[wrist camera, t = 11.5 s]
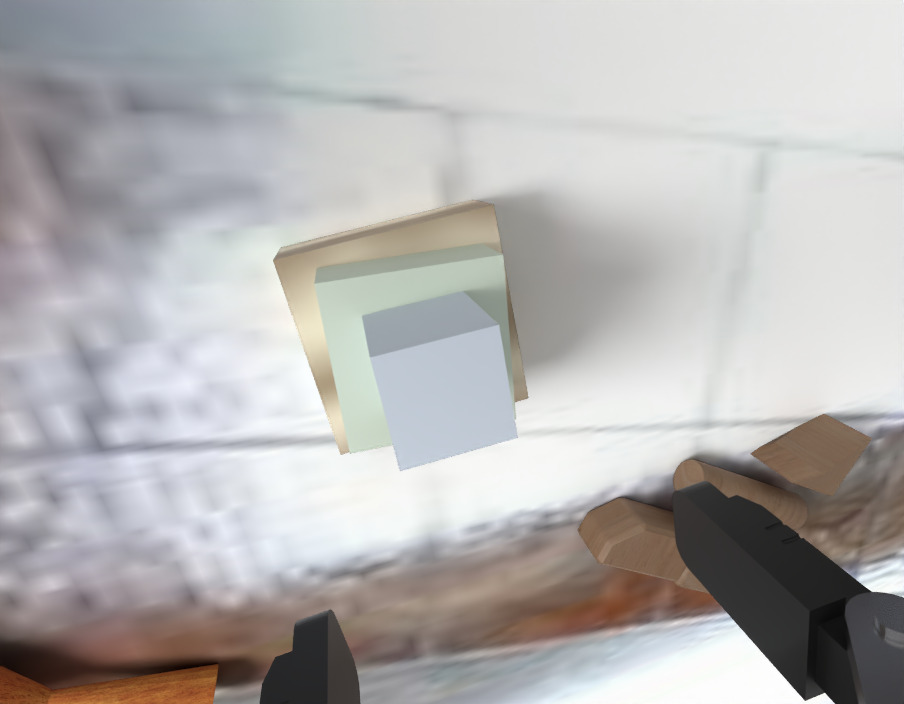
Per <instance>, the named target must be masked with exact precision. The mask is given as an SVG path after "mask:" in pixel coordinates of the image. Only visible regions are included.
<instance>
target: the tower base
mask: <svg viewBox="0 0 904 704" xmlns="http://www.w3.org/2000/svg"><path fill="white" fill-rule="evenodd" d="M480 243H482V244H484V245H486V246H488V247H490V248H492V249H494V250H496V251H497V252H499V253H501V254H502V248H501V242H500V237H499V231H498V226H497V220H496V215H495V209H494V205H492V204H488V203H484V202H480V201H476V200H470V201H466V202H462V203H458V204H454V205H450V206H446V207H442V208H438V209H434V210H430V211H426V212H422V213H418V214H414V215H410V216H405V217H401V218H397V219H393V220H389V221H385V222H381V223H377V224H373V225H369V226H365V227H361V228H357V229H353V230H349V231H345V232H341V233H337V234H333V235H329V236H325V237H321V238H317V239H313V240H309V241H305V242H301V243H297V244H293V245H289V246H285V247H281V248H280V250H279V252H278V253H277V255H276V257H275V258H274V260H273V262H274V264H275V267H276V270H277V273H278V276H279V279H280V282H281V285H282V287H283V290H284V293H285V296H286V299H287V302H288V305H289V308H290V310H291V313H292V316H293V319H294V322H295V325H296V328H297V331H298V333H299V336H300V339H301V342H302V345H303V348H304V351H305V354H306V356H307V359H308V362H309V365H310V368H311V371H312V374H313V377H314V379H315V382H316V385H317V388H318V391H319V394H320V397H321V400H322V402H323V405H324V408H325V411H326V414H327V417H328V420H329V423H330V425H331V428H332V431H333V434H334V437H335V440H336V443H337V446H338V449H339V451H340V454H345V453H348V452H349V447H348V442H347V438H346V433H345V428H344V423H343V419H342V414H341V409H340V404H339V400H338V395H337V390H336V385H335V381H334V376H333V371H332V366H331V361H330V357H329V352H328V347H327V342H326V338H325V333H324V328H323V323H322V319H321V314H320V309H319V304H318V299H317V295H316V290H315V285H314V282H315V275H316V269H317V268H319V267H326V266H333V265H339V264H346V263H353V262H359V261H366V260H373V259H379V258H386V257H393V256H399V255H406V254H413V253H420V252H426V251H433V250H440V249H446V248H453V247H460V246H466V245H473V244H480ZM504 268H505V265H504ZM505 282H506V295H507V308H508V321H509V334H510V347H511V360H512V373H513V386H514V400H515V402H517V401H520V400H524V399H527V398H528V393H527V387H526V381H525V376H524V370H523V365H522V359H521V354H520V348H519V343H518V337H517V331H516V326H515V320H514V315H513V309H512V304H511V298H510V292H509V287H508V281H507V276H506V270H505Z"/></svg>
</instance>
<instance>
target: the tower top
mask: <svg viewBox="0 0 904 704" xmlns="http://www.w3.org/2000/svg"><path fill="white" fill-rule="evenodd" d="M314 285H315V290H316V295H317V299H318V304H319V309H320V314H321V319H322V323H323V328H324V333H325V338H326V342H327V347H328V352H329V357H330V361H331V366H332V371H333V376H334V381H335V385H336V390H337V395H338V400H339V404H340V409H341V414H342V419H343V423H344V428H345V433H346V438H347V442H348V447H349V452H350V454H351V453H356V452H361V451H366V450H371V449H376V448H380V447H385V446H390V445H393V443H392V439H391V435H390V432H389V428H388V424H387V420H386V417H385V413H384V409H383V405H382V402H381V398H380V394H379V390H378V387H377V383H376V379H375V375H374V372H373V368H372V364H371V361H370V356H369V351H368V346H367V341H366V336H365V330H364V325H363V320H362V315H366V314H370V313H375V312H379V311H383V310H387V309H391V308H395V307H399V306H403V305H408V304H412V303H416V302H420V301H424V300H428V299H432V298H436V297H441V296H445V295H449V294H453V293H457V292H461V291H464V292H465V293H466V294H467V295H468V296H469V297H470V298H471V299H472V300H473V301H474V302H475V303H476V304H477V305H478V306H480V307H481V308H482V309H483V310H484V311H485V312H486V313H487V314H488V315H489V316H490V317H491V318H492V319H493V320H494V321H496V322H497V323H498V324H499V327H500V333H501V339H502V345H503V351H504V358H505V364H506V370H507V376H508V382H509V388H510V394H511V400H512V406H513V412H514V418H515V419H516V413H515V400H514V386H513V373H512V360H511V347H510V334H509V321H508V308H507V295H506V282H505V268H504V255H503V254H501V253H499V252H497V251H496V250H494V249H492V248H490V247H488V246H486V245H484V244H482V243H480V244H473V245H466V246H460V247H453V248H446V249H440V250H433V251H426V252H420V253H413V254H406V255H399V256H393V257H386V258H379V259H373V260H366V261H359V262H353V263H346V264H339V265H333V266H326V267H319V268H317V269H316V275H315V282H314Z"/></svg>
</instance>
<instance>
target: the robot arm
mask: <svg viewBox="0 0 904 704" xmlns="http://www.w3.org/2000/svg"><path fill="white" fill-rule="evenodd" d="M672 502H673V514H674V527H675V540H676V545H677V549H678V551H679V554H680V556H681V558H682V560H683V562H684V563H685V565H686V566H687V568H688V569H689V570H690V571H691V572H692V574H693V575H694V576H695V577H696V578H697V579H698V580H699V581H700V583H701V584H702V585H703V586H704V587H705V588H706V589H707V590H708V592H709V593H710V594H711V595H712V596H713V597H714V598H715V600H716V601H717V602H718V603H719V604H720V605H721V606H722V607H723V609H724V610H725V611H726V612H727V613H728V614H729V615H730V617H731V618H732V619H733V620H734V621H735V622H736V623H737V624H738V626H739V627H740V628H741V629H742V630H743V631H744V632H745V633H746V635H747V636H748V637H749V638H750V639H751V640H752V641H753V643H754V644H755V645H756V646H757V647H758V648H759V649H760V650H761V652H762V653H763V654H764V655H765V656H766V657H767V658H768V659H769V661H770V662H771V663H772V664H773V665H774V666H775V667H776V669H777V670H778V671H779V672H780V673H781V674H782V675H783V676H784V678H785V679H786V680H787V681H788V682H789V683H790V684H791V685H792V687H793V688H794V689H795V690H796V691H797V692H798V693H799V695H800V696H801V697H802V698H803V699H804V700H805V701H806V700H808V699H811V698H813V697H816V696H818V695H820V694H823V693H826V694H827V695H828V697H829V698H830V699H831V700H832V701H833V702H834V703H835V704H904V598H903V597H900V596H897V595H893V594H888V593H882V592H871V591H870V590H868V589H867V588H866V587H864V586H863V585H862V584H861V583H859V582H858V581H857V580H856V579H854V578H853V577H852V576H851V575H849V574H848V573H847V572H845V571H844V570H843V569H842V568H840V567H839V566H838V565H837V564H835V563H834V562H833V561H832V560H830V559H829V558H828V557H827V556H825V555H824V554H823V553H821V552H820V551H819V550H818V549H816V548H815V547H814V546H813V545H811V544H810V543H809V542H808V541H806V540H805V539H804V538H802V539H801V538H800V537H799V534H797V533H796V532H795V531H794V530H792V529H791V528H790V527H789V526H787V525H784V524H783V523H782V521H781V520H780V519H779V518H777V517H776V516H775V515H773V514H772V513H771V512H770V511H768V510H767V509H766V508H765V507H763V506H762V505H760V504H757V503H755V502H753V501H750V500H748V499H746V498H743V497H741V496H738V495H735V496H732V497H729V498H728V497H727V496H726V495H725V494H723V493H722V492H721V491H720V490H719V489H717V488H716V487H715V486H714V485H713V484H711V483H710V482H708V481H702V482H699V483H696V484H693V485H690V486H687V487H684V488H681V489H679V490H676V491H674V492H673V495H672ZM260 704H360V690H359V681H358V675H357V670H356V666H355V662H354V659H353V657H352V654H351V652H350V649H349V647H348V645H347V642H346V640H345V638H344V635H343V633H342V631H341V628H340V626H339V624H338V621H337V619H336V616H335V614H334V612H333V611H332V610H327V611H325V612H322V613H319V614H316V615H313V616H310V617H307V618H304V619H302V620H299V621H297V622H296V623H295V626H294V637H293V650H292V651H291V652H289V653H286V654H283V655H280V656H277V657H275V659H274V661H273V663H272V665H271V667H270V669H269V671H268V673H267V675H266V677H265V679H264V681H263V683H262V689H261V697H260Z"/></svg>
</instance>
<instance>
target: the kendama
mask: <svg viewBox="0 0 904 704" xmlns="http://www.w3.org/2000/svg"><path fill="white" fill-rule="evenodd" d="M217 673H218V664H215V665H209V666H202V667H196V668H190V669H183V670H177V671H170V672H164V673H158V674H151V675H145V676H138V677H132V678H126V679H119V680H113V681H106V682H100V683H94V684H87V685H81V686H74V687H68V688H62V689H55V690H53V689H50V688H48V687H46V686H44V685H42V684H40V683H37V682H35V681H33V680H31V679H29V678H26V677H24V676H22V675H20V674H18V673H16V672H13V671H11V670H9V669H7V668H5V667H3V666H0V704H213V699H214V693H215V687H216V680H217Z"/></svg>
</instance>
